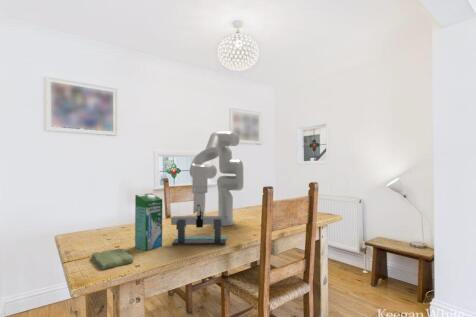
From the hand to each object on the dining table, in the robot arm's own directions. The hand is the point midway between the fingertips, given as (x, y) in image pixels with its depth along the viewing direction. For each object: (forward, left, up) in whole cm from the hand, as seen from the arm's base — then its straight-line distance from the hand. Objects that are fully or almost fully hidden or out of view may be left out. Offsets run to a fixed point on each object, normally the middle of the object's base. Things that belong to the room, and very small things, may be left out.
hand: (200, 225), depth 132 cm
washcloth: (+22, -34, -9) cm, 41 cm away
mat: (-7, 0, -9) cm, 11 cm away
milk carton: (+4, -24, -9) cm, 26 cm away
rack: (0, 0, -9) cm, 9 cm away
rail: (0, 0, +1) cm, 1 cm away
